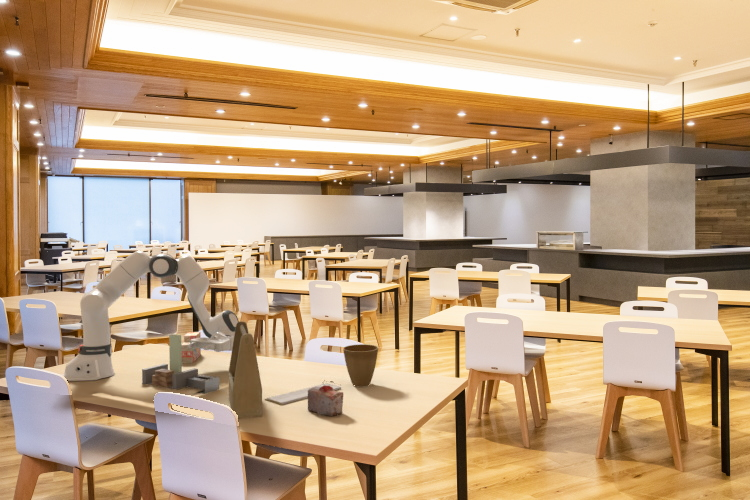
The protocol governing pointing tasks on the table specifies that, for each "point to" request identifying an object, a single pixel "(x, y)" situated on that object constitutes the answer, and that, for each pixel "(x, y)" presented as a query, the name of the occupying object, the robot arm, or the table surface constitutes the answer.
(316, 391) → the food item
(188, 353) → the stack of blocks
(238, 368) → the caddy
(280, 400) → the baseboard molding
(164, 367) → the offcut rack
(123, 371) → the table surface
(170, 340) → the tall panel
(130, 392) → the table surface
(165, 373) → the offcut stack
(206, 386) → the steel holder
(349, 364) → the plant pot
